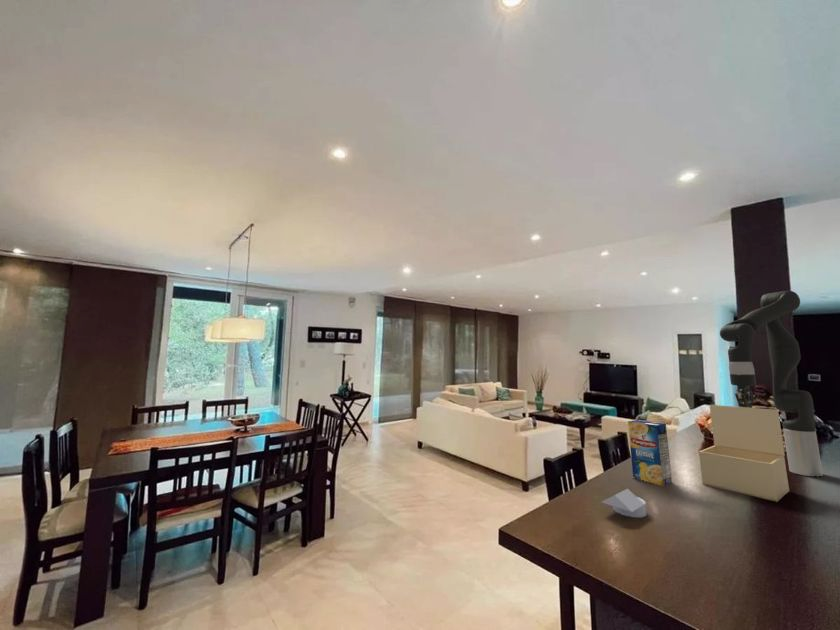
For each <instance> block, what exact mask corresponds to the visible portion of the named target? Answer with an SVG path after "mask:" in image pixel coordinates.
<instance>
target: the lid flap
mask: <svg viewBox="0 0 840 630" xmlns="http://www.w3.org/2000/svg"><path fill="white" fill-rule="evenodd" d="M709 410H710V412H709V413H710V419H711V429H712V436H713V446H714V445H715V446H721V447H728V448H734V449H741V450H747V451H754V452H760V453H767V454H773V455H780V456H784V457H785V456H786V454H785V447H784V442H783V436H782V435H783V434H782V428H781V422H780V415H779V410H778V409H771V408H758V407H752V408H747V407H739V406H732V405H731V406H730V405H722V404H721V405H720V404H709Z"/></svg>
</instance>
